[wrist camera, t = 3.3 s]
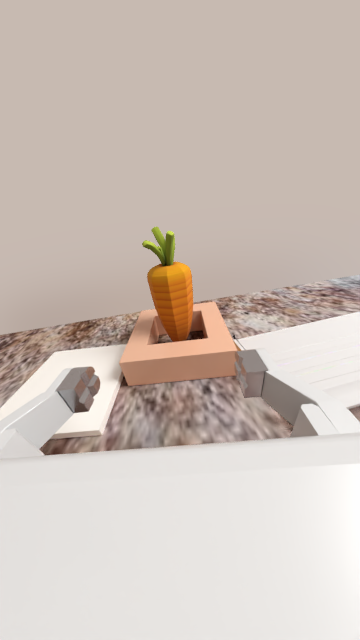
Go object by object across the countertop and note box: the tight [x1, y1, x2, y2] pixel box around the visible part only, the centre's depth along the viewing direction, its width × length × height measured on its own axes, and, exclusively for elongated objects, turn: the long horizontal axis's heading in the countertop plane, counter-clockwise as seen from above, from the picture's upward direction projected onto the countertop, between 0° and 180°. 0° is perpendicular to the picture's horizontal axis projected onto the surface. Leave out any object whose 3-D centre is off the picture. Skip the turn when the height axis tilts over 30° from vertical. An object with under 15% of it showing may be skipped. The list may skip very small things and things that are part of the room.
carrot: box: [142, 227, 193, 342], centre depth 20 cm, size 5×5×15 cm
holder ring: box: [119, 302, 238, 386], centre depth 23 cm, size 12×12×4 cm
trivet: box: [0, 344, 127, 439], centre depth 20 cm, size 12×12×1 cm
